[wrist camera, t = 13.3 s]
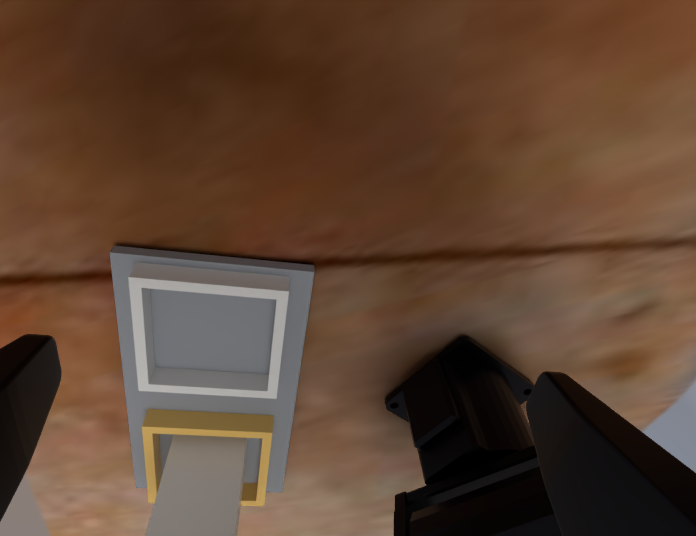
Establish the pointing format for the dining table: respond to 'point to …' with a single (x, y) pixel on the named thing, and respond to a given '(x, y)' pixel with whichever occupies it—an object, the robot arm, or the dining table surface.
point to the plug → (200, 487)
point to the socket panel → (210, 356)
